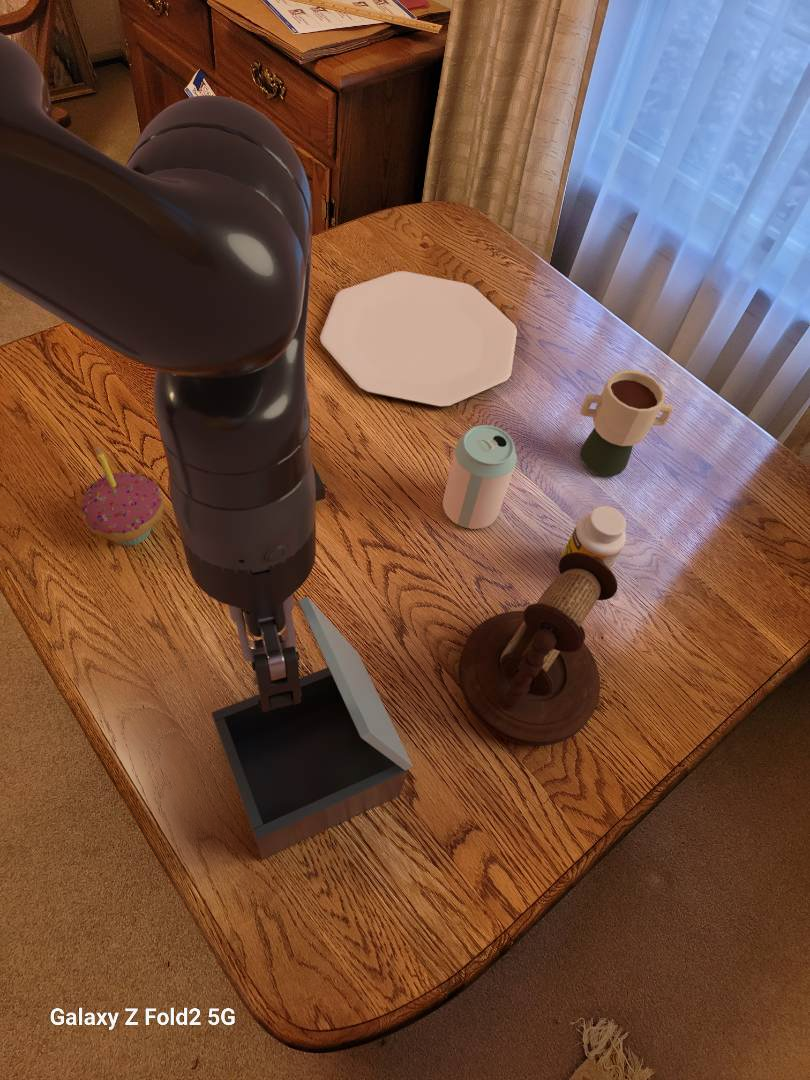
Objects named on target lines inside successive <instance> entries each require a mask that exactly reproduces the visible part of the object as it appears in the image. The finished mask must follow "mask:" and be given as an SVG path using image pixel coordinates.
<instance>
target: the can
mask: <svg viewBox="0 0 810 1080" xmlns="http://www.w3.org/2000/svg"><path fill="white" fill-rule="evenodd" d="M517 461H518V456H517V451H516V448H515V442H514V440H513V438H512V437H511V435H510V434H508V432H506V431H505V430H503V429H501V428H499V427H497V426H494V425H488V424H480V425H476V426H473V427H471V428H470V429H468V430H467V431H466V432H465V434H463V435H462V436H461V437H460V438H459V439H458V441H457V442H456V444H455V448H454V452H453V455H452V460H451V464H450V467H449V473H448V477H447V481H446V485H445V490H444V495H443V497H442V508H443V512H444V513H445V515H446V516H447V518H448V519H449V520H451V521H452V522H453V523H454V524H456V525H458V526H460V527H462V528H466V529H471V530H477V529H484V528H487V527H489V526H490V525H492V524H493V523H494V522H495V521H496V520H497V518H498V517H499V515H500V511H501V509H502V506H503V502H504V501H505V497H506V494H507V490H508V488H509V485H510V482H511V479H512V476H513V473H514V470H515V468H516V465H517Z"/></svg>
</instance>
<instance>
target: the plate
mask: <svg viewBox="0 0 810 1080" xmlns="http://www.w3.org/2000/svg"><path fill="white" fill-rule="evenodd" d="M517 334H518V329H517V327H516V324H514V322H512V321H511V320H510V319H509V318H508V317H507V316H506V315H505V314H503V312H502V311H500V310H499V309H498V308H497V307H496V306H495V304H493V303H492V302H491V301H489V299H488V298H486V296H485V295H483V293H482V292H481V291H479V290H478V289H477V288H476V287H475V286H473V285H472V284H469V283H466V282H462V281H457V280H452V279H447V278H441V277H436V276H431V275H428V274H427V275H426V274H421V273H416V272H412V271H411V272H410V271H406V270H398V271H397V270H396V271H393V272H390V273H387V274H385V275H381V276H379V277H376V278H373V279H369V280H366V281H364V282H361V283H357V284H355V285H351V286H349V287H346V288H343V289H341V290H339V291H338V292H337V293H336V294H335V296H334V299H333V301H332V304H331V306H330V309H329V310H328V315H327V317H326V320H325V322H324V325H323V327H322V330H321V333H320V335H319V340H320V344H321V346H322V347H323V348H324V350H326V351H327V353H328V354H329V355H330V356H331V358H332V359H333V360H334V361H335V362H336V363H337V364H338V365H339V367H340V368H341V369H342V370H343V372H345V373H346V375H347V376H348V377H349V379H351V380H352V381H353V383H354V384H355V385H356V386H357V387H358V388H359V389H360V390H362V391H364V392H365V393H368V394H372V395H377V396H383V397H388V398H392V399H397V400H402V401H407V402H413V403H417V404H421V405H427V406H430V407H431V406H432V407H437V408H449V407H452V406H455V405H456V404H459V403H461V402H463V401H465V400H468V399H470V398H473V397H475V396H478V395H479V394H481V393H484V392H486V391H489V390H491V389H493V388H495V387H498V386H499V385H502V384H504V383H507V381H508V380H510V378H511V375H512V371H513V365H514V364H513V363H514V357H515V351H516V342H517Z"/></svg>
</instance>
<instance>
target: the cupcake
mask: <svg viewBox="0 0 810 1080" xmlns="http://www.w3.org/2000/svg"><path fill="white" fill-rule="evenodd" d="M96 450H97V453H98V454H97V458H98V460H99V463H100V465H101V467H102V470H103V472H104V474H103V475H102V477H98V478H97V479H96V480H95V481H94V482H93V483H90V484H89V486H88V487H87V489H86V490H85V491H84V495H83V500H82V501H81V502H82V506H81V511H82V518H83V522H84V523H85V524H86V526H87V527H88V528H89V529H90V530H91V531H92V533H93V534H94V535H95V536H96V537H100V538H101V539H105V540H108V541H111V542H113V543H114V544H116V545H119V546H123V547H130V546H135V545H138V544H140V543H142V542H144V541H145V540H146V539H147V538H148V537H149V535H150V533H151V531H152V528H153V526H154V525H156V523H157V522H159V521H160V520H161V519H162V517H163V514H164V509H165V508H164V507H165V506H164V500H163V497H162V492H161V491H160V489H159V486H158V484H157V482H154V481H152V480H151V479H150V478H148V477H146V476H144V475H142V474H141V473H138V472H136V473H133V472H130V471H125V472H121V471H118V472H112V470H111V468H110V466H109V465H110V464H109V462H108V461H107V458H106V456H105V454H104V452H101V449H100V447H96Z"/></svg>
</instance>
